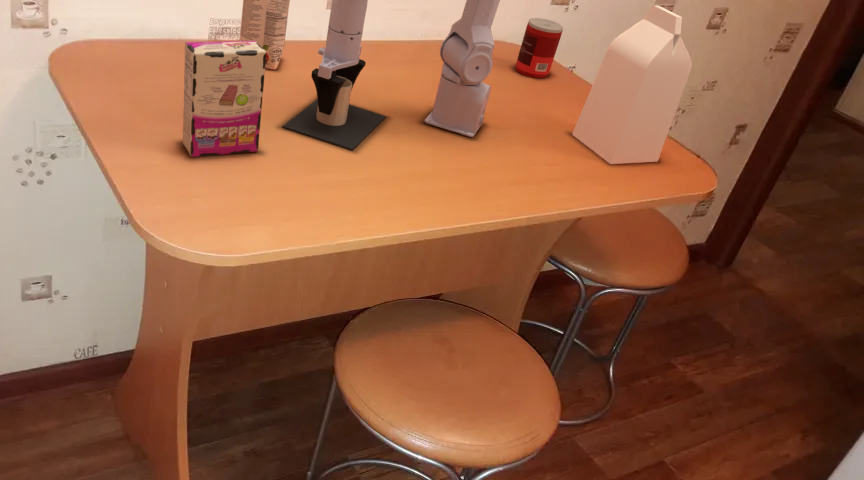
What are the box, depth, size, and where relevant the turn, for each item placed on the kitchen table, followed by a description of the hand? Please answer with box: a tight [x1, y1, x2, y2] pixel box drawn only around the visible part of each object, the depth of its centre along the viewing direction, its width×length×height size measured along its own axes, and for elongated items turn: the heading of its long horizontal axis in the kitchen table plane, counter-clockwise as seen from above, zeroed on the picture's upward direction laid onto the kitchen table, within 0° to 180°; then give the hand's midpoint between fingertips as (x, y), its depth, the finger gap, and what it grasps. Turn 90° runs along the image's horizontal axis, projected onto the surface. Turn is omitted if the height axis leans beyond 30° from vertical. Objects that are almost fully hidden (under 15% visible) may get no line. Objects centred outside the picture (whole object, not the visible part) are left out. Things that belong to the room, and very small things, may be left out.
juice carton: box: [239, 0, 291, 70], centre depth 151 cm, size 8×9×19 cm
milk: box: [571, 5, 693, 165], centre depth 144 cm, size 12×12×26 cm
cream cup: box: [316, 76, 353, 126], centre depth 137 cm, size 5×5×7 cm
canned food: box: [515, 17, 564, 79], centre depth 176 cm, size 8×8×11 cm
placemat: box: [281, 98, 387, 151], centre depth 139 cm, size 13×17×1 cm
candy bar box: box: [182, 40, 266, 158], centre depth 120 cm, size 11×5×16 cm, turn 118°
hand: (333, 105), depth 138 cm, fingers open, 7 cm apart
